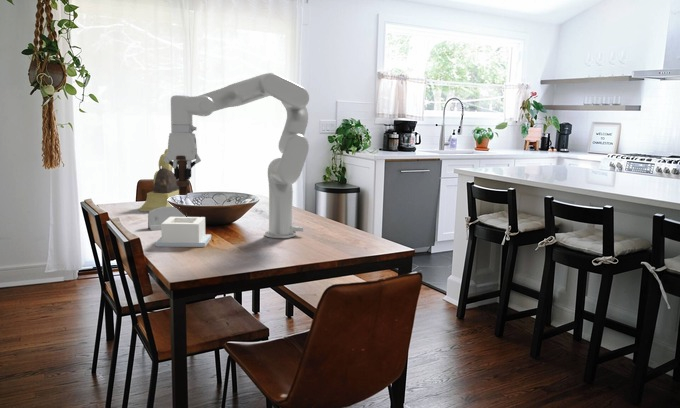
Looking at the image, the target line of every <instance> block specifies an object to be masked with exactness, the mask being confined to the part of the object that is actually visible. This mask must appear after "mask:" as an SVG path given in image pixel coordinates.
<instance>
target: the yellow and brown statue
mask: <svg viewBox="0 0 680 408" xmlns="http://www.w3.org/2000/svg"><path fill="white" fill-rule="evenodd" d="M167 153H168V148H165V150H164V152H163V153H162V154H161V155H160V156H159V160H158V170H156V171H155V173H154V175H153V185H152V186H153V190H152V191H149V192H147V193H146V200H145V202H144V203H142V205H141V206H140V207H139V211H140V212H142V211H149V212H150V211H151V210H154V209H157V208H160V207H172V206H171V205H170V204H169V203H168V201H167V199H168V198H169V197H171V196H174V195H178V194H179V186H177V185H176V181H177V180H179V179H176V177H174V171H173V167H172V166H171V165H170V164H169V163H167V162H165V161H164V158H165V157H166V155H167ZM171 161H173V160H171ZM149 212H148V213H149Z"/></svg>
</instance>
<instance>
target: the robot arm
mask: <svg viewBox="0 0 680 408" xmlns="http://www.w3.org/2000/svg"><path fill="white" fill-rule="evenodd" d="M266 97H273V98H274V99H277V100H279V102H281V105H283V107H284V108H285V111H286V119H285V120H286V121H285V124H284V127H283V130H282V132H281V136H280V139H279V141H278V150H279V152H280V153H281V157H277V158H274V159H273V160H272V161H270V163H269V165H268V167H267V180H268V230H266V231H265V233H264V236H265V237H266V238H267V237H268V238H270V239H291V238H294V237H296V235H297V233H296V232H299V233H300V232H301V233H302V232H304V227H303V226H297V225H296V226H295V225H294V222H293V201H294V200H293V199H294V198H293V194H294V193H293V192H294V191H293V189H294V188H293V184H295V183H296V182H297V181H298V180H299V178H300V176H301V174H302V171H303V168H304V166H305V162H306V159H307V156H308V153H309V149H310V148H309V147H310V145H309V141H308V139H307V138H306V137H305V134H306V130H307V127H308V123H309V112H308V109H307V105H308V103H309V102H310V94H309V92H308V90H307V89H306V88H305V87H303V86H301V85H299V84H297V83H295V82H293V81H291V80H289V79H288V78H285V77H284V76H281V75H280V74H277V73H274V72H267V73H263V74H259V75H256V76H254V77H251V78H247V79H244V80H241V81H237V82H235V83H234V82H233V83H231V84H228V85H227V86H224V87H221V88H218V89H215V90H213V91H210V92H205V93H203V94H199V95H197V96H196V95H195V96H189V95H180V94H179V95H178V94H177V95H173V96H171V97H170V122H171V123H170V127H171V130H170V131H171V132H169V135H168V142H167V149H168V153H167V155H166V157H165V158H164V161H165V162H167V163H169V164H170V165H171V166H172V169H173V173H174V177H176V179H179V177H178V173H179V170H178V160H176V156H185V157H186V161H187V169H186V179H187V180H189V181H190V179H191V178H192V168H193V167H195V165H197V164H199V163H200V162H201V161H202V159H201V158H200V156H199V153H198V146H197V139H196V138H197V137H196V133H194V131H197V126H194V125H193V116H198V117H208V116H210V115H212V114H213V113H214V112H216V111H219V110H223V109H227V108H234V107H240V106H243V105H246V104H249V103H252V102H255V101H259V100H261V99H264V98H266ZM171 160H172V161H171Z"/></svg>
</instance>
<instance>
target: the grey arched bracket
mask: <svg viewBox="0 0 680 408" xmlns="http://www.w3.org/2000/svg"><path fill="white" fill-rule="evenodd" d="M147 214H148V215H147V229H150V231H161V223H163V222H164V221H165V220H166V219H168V218H169V217H186V216H187V215H186V216H185V215H183V214H182V213H181V212H180V211H179V210H178V209H177V208H175V207H160V208H157V209H154V210H151V211H150V212H147Z"/></svg>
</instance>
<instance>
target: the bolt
mask: <svg viewBox="0 0 680 408" xmlns="http://www.w3.org/2000/svg"><path fill="white" fill-rule="evenodd" d="M176 160H178V170H179V173H178V177H179V180H177V181H176V185H177V186H179V195H186V196H187V195H188V194H189V193H188V186H190V179H189V180H187V179H186V169H187V161H186V157H185V156H176Z"/></svg>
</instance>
